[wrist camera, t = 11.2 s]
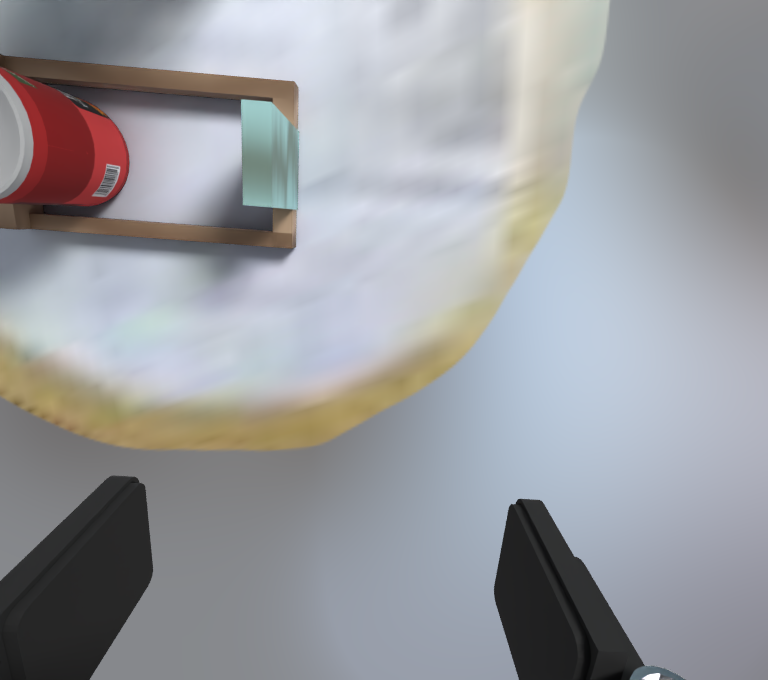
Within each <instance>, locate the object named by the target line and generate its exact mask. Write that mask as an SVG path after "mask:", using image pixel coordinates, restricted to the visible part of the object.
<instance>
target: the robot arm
mask: <svg viewBox="0 0 768 680" xmlns="http://www.w3.org/2000/svg"><path fill="white" fill-rule="evenodd" d="M152 573H153V564H152V553H151V543H150V533H149V522H148V511H147V502H146V490H145V486H144V484H142V483H139V480H138V479H137V478H136V477H127V476H110V477H109V478H107V479H106V480H105V481H104V482H103V483H102V484H101V485H100V486H99V487H98V488H97V489H96V490H95V491H94V492H93V493H92V494H91V495H90V496H88V497H87V499H85V500H84V501H83V502H82V503H81V504H80V505H79V506H78V507H77V508H76V509H75V510H74V511H73V512H72V513H71V514H70V515H69V516H68V517H67V518H66V519H65V520H63V522H61V523H60V524H59V525H58V526H57V527H56V528H55V529H54V530H53V531H52V532H51V533H50V534H49V535H48V536H47V537H46V538H45V539H44V540H43V541H42V542H41V543H40V544H38V545H37V547H35V548H34V549H33V550H32V551H31V552H30V553H29V554H28V555H27V556H26V557H25V558H24V559H23V560H22V561H21V562H20V563H19V564H18V565H17V566H16V567H15V568H14V569H13V570H11V571H10V572H9V573H8V574H7V575H6V576H5V577H4V578H3V579H2V580H1V581H0V680H89V679H90V678H91V676H92V675H93V673H94V671H95V670H96V668H97V667H98V665H99V663H100V662H101V660H102V659H103V657H104V655H105V654H106V652H107V651H108V649H109V647H110V646H111V644H112V643H113V641H114V639H115V638H116V636H117V635H118V633H119V632H120V630H121V628H122V627H123V625H124V624H125V622H126V620H127V619H128V617H129V616H130V614H131V612H132V611H133V609H134V608H135V606H136V604H137V603H138V601H139V600H140V598H141V596H142V595H143V593H144V591H145V590H146V588H147V587H148V585H149V583H150V581H151V578H152ZM494 595H495V602H496V605H497V608H498V612H499V615H500V618H501V622H502V625H503V628H504V631H505V635H506V638H507V641H508V645H509V648H510V651H511V654H512V658H513V661H514V664H515V667H516V671H517V674H518V677H519V680H686V679H684V678H683V677H681V676H680V675H678V674H676V673H673V672H671V671H669V670H667V669H665V668H661V667H656V666H645V665H644V664H643V662H642V660H641V659H640V657H639V655H638V654H637V652H636V650H635V649H634V647H633V645H632V643H631V642H630V640H629V638H628V637H627V635H626V633H625V632H624V630H623V628H622V627H621V625H620V623H619V622H618V620H617V618H616V617H615V615H614V613H613V612H612V610H611V608H610V607H609V605H608V603H607V601H606V600H605V598H604V597H603V595H602V593H601V591H600V590H599V588H598V586H597V585H596V583H595V581H594V580H593V578H592V576H591V574H590V573H589V571H588V570H587V568H586V566H585V565H584V563H583V562H582V561H581V560H580V559H579V558H577V557H574V556H573V554H572V552H571V550H570V548H569V547H568V545H567V543H566V542H565V540H564V538H563V536H562V535H561V533H560V531H559V530H558V528H557V526H556V524H555V522H554V521H553V519H552V517H551V516H550V514H549V512H548V510H547V509H546V507H545V505H544V504H543V502H542V501H540V500H530V499H518V500H517V502H516V504H514V505H513V504H511V505H510V507H509V510H508V516H507V521H506V526H505V532H504V537H503V542H502V548H501V553H500V558H499V564H498V569H497V575H496V580H495V586H494Z"/></svg>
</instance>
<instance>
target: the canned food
mask: <svg viewBox="0 0 768 680" xmlns="http://www.w3.org/2000/svg"><path fill="white" fill-rule="evenodd" d="M128 173H129V153H128V149H127V146H126V143H125V140H124V138H123V136H122V134H121V132H120V131H119V129H118V128H117V126H116V125H115V124H114V123H113V122H112V121H111V119H110V118H109V117H108V116H107V115H106V114H105V113H104V112H102V111H101V110H100V109H99V108H97V107H96V106H94V105H92V104H90V103H89V102H87V101H84V100H82V99H79V98H77V97H74V96H72V95H69V94H67V93H65V92H62V91H60V90H57V89H55V88H52V87H50V86H47V85H45V84H42V83H40V82H37V81H35V80H33V79H30V78H28V77H25V76H23V75H20V74H18V73H15V72H13V71H10V70H8V69H5V68H3V67H0V204H31V205H62V206H94V205H99V204H101V203H104V202H106V201H108V200H110V199H111V198H113V197H114V196H115V195H117V194H118V192H119V191H120V190H121V189H122V187H123V186H124V184H125V182H126V179H127V176H128Z"/></svg>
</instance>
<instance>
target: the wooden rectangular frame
mask: <svg viewBox="0 0 768 680" xmlns="http://www.w3.org/2000/svg"><path fill="white" fill-rule="evenodd" d="M0 67H3V68H5V69H8V70H10V71H13V72H15V73H18V74H20V75H23V76H25V77H28V78H30V79H33V80H35V81H37V82H40V83H50V84H62V85H73V86H85V87H96V88H108V89H119V90H131V91H142V92H154V93H165V94H177V95H188V96H200V97H211V98H223V99H234V100H241V123H242V180H243V205H248V206H259V207H270V208H273V231H265V230H251V229H238V228H225V227H212V226H199V225H186V224H173V223H160V222H147V221H134V220H121V219H108V218H95V217H82V216H69V215H56V214H44V210H43V205H31V204H0V228H6V229H39V230H53V231H66V232H79V233H92V234H106V235H119V236H132V237H145V238H159V239H172V240H185V241H198V242H212V243H225V244H238V245H251V246H265V247H278V248H291V249H292V248H295V247H296V210H298V159H299V131H298V86H297V85H296V83H295V82H294V81H282V80H271V79H260V78H249V77H237V76H226V75H215V74H203V73H192V72H181V71H170V70H158V69H147V68H136V67H125V66H113V65H102V64H91V63H80V62H68V61H57V60H46V59H35V58H23V57H12V56H4V55H1V54H0Z"/></svg>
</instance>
